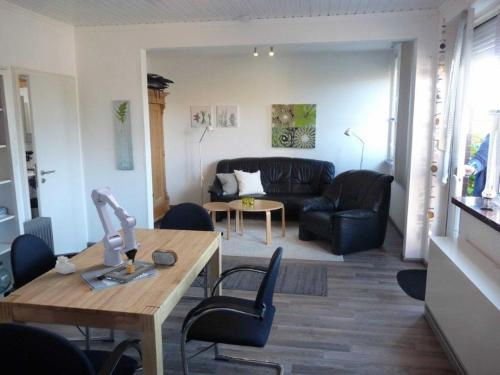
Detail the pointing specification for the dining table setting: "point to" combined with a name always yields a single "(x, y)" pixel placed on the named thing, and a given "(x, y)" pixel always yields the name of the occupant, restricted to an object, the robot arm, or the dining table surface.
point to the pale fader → (127, 262)
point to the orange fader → (130, 268)
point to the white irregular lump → (64, 266)
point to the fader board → (126, 277)
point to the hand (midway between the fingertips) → (131, 262)
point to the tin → (164, 257)
